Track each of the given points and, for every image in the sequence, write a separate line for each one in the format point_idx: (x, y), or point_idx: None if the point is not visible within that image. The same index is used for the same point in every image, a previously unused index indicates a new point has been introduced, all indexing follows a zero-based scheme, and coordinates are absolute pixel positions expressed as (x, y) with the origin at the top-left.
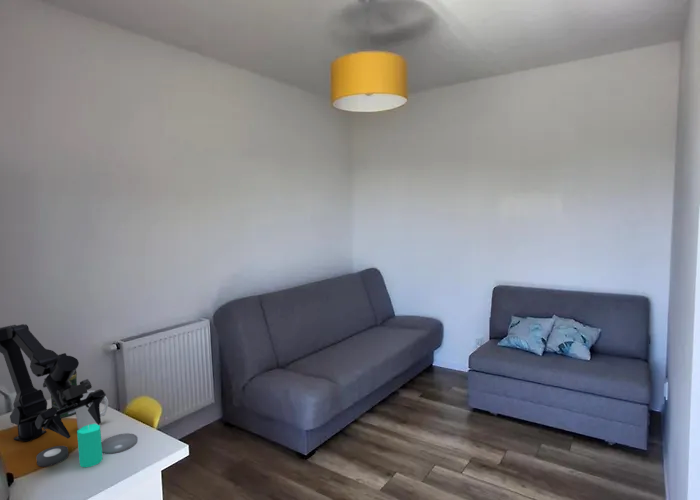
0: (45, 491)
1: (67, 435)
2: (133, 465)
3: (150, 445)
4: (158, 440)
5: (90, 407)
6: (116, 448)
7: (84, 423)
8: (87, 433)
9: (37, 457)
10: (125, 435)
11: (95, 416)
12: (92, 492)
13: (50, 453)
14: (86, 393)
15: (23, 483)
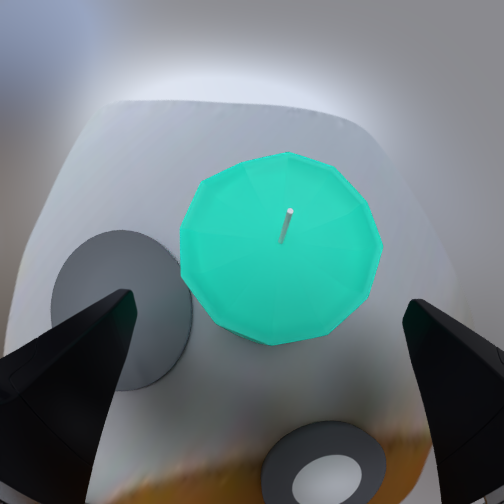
0: (439, 262)
1: (433, 309)
2: (214, 130)
3: (96, 183)
4: (67, 188)
5: (43, 491)
6: (152, 265)
7: None
8: (336, 172)
9: (375, 488)
10: None
11: (94, 366)
12: (362, 132)
13: (337, 481)
14: None
15: None
